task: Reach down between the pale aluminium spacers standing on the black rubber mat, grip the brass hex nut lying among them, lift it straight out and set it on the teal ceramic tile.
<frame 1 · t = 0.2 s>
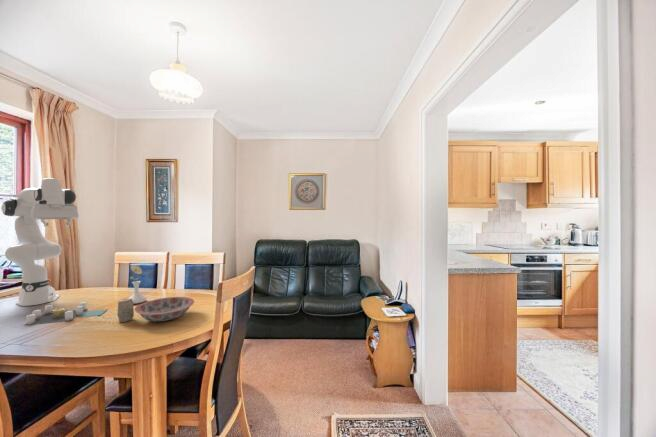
hand: (57, 226, 163), 52 cm above the table, tool tilted 20°, fingers open, 8 cm apart
spacer mat: (58, 317, 158), on the table
ceramic bowl: (165, 318, 158), on the table
brass nut: (58, 316, 158), resting on spacer mat
teal tile: (93, 314, 163), on the table
carving: (125, 321, 154), on the table
flower in vase: (135, 302, 185), on the table
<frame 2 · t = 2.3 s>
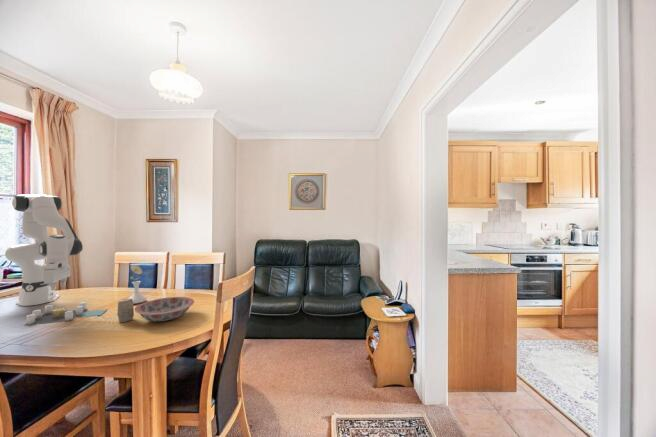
hand: (58, 287, 157), 17 cm above the table, tool pointing down, fingers open, 8 cm apart
nothing on the table moved.
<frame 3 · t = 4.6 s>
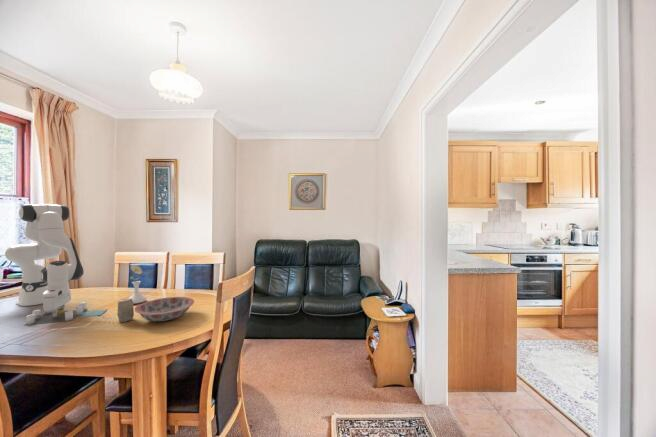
hand: (58, 314, 158), 2 cm above the table, tool pointing down, fingers closed on brass nut, 5 cm apart
brass nut: (58, 316, 158), point 1 cm above the table, touching gripper, spacer mat
everything else where it was.
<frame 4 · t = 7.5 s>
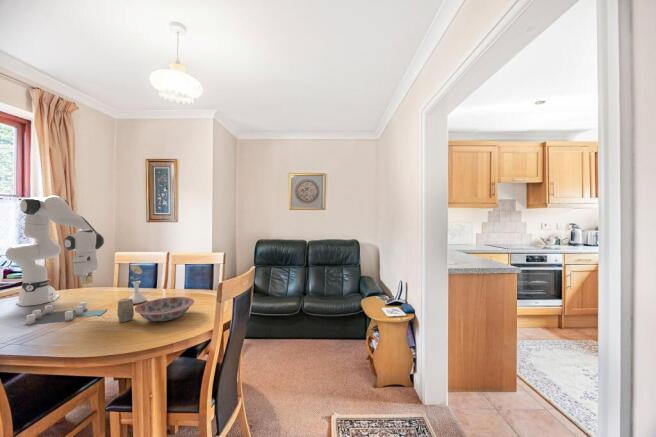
hand: (86, 280, 162), 20 cm above the table, tool pointing down, fingers closed on brass nut, 5 cm apart
brass nut: (86, 282, 162), point 19 cm above the table, touching gripper
everything else where it was.
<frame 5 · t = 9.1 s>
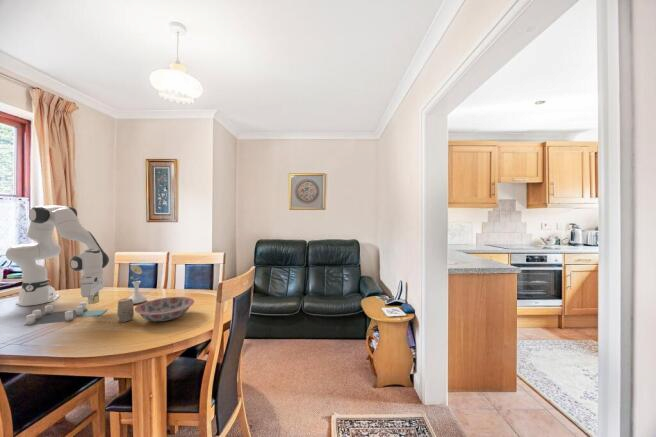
hand: (93, 300, 163), 8 cm above the table, tool pointing down, fingers closed on brass nut, 5 cm apart
brass nut: (93, 302, 163), point 7 cm above the table, touching gripper
everything else where it was.
when the fingers open (3 cm above the table, at t = 10.5 s): brass nut drops 1 cm, resting on teal tile.
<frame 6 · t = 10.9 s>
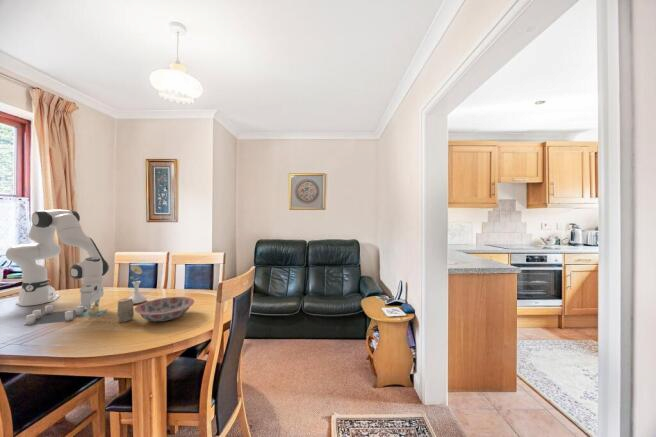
hand: (93, 308, 163), 3 cm above the table, tool pointing down, fingers open, 8 cm apart
brass nut: (93, 313, 163), point 1 cm above the table, touching teal tile
everything else where it was.
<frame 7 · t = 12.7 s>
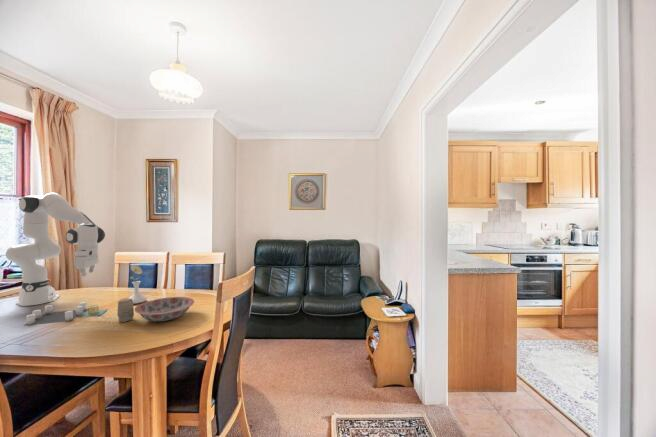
hand: (87, 274, 164), 23 cm above the table, tool pointing down, fingers open, 8 cm apart
nothing on the table moved.
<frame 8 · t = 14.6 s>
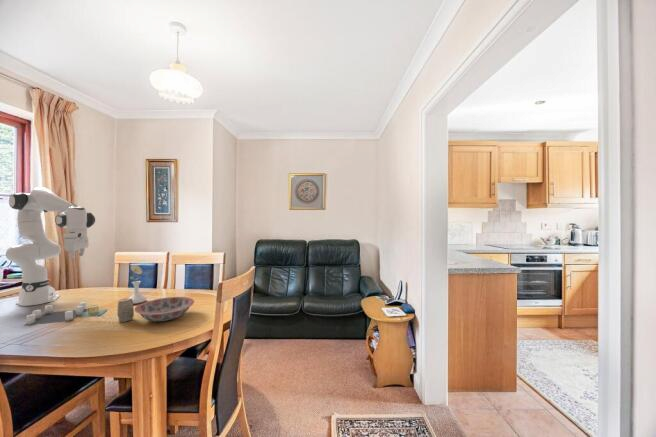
hand: (77, 256, 166), 33 cm above the table, tool pointing down, fingers open, 8 cm apart
nothing on the table moved.
at the end: brass nut inside the target area on the teal tile (0.0 cm from its centre), point 0.6 cm above the teal tile's base; brass nut tilted 0°; the gripper is holding nothing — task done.
